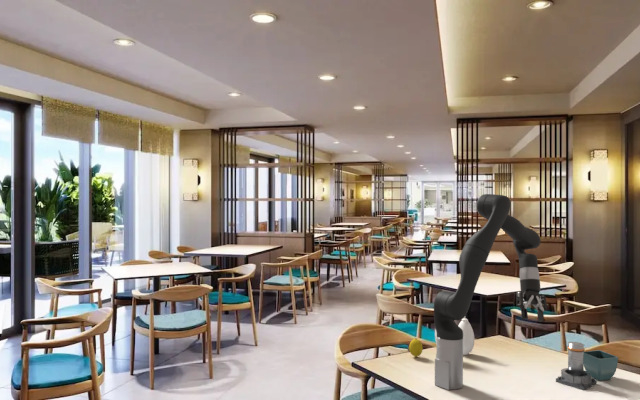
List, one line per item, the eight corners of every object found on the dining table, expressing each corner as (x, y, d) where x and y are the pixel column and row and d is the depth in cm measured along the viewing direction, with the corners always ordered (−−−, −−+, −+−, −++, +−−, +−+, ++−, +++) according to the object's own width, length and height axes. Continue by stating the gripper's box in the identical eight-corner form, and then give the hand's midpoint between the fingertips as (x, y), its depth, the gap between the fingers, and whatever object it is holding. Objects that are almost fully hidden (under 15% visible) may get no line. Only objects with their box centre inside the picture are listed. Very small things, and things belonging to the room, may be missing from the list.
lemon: (413, 354, 209) (413, 335, 209) (424, 357, 206) (424, 338, 206) (406, 357, 205) (406, 338, 205) (418, 360, 201) (418, 341, 201)
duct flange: (584, 390, 170) (584, 379, 170) (555, 381, 178) (555, 371, 178) (596, 383, 177) (596, 373, 177) (568, 375, 185) (568, 366, 185)
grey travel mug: (580, 383, 174) (580, 346, 174) (564, 378, 178) (564, 343, 178) (587, 379, 177) (587, 344, 178) (571, 375, 182) (571, 340, 182)
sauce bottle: (477, 354, 209) (477, 313, 209) (467, 358, 204) (467, 315, 204) (461, 350, 215) (462, 309, 215) (451, 354, 210) (451, 312, 210)
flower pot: (599, 383, 177) (599, 358, 177) (580, 375, 186) (580, 351, 186) (618, 381, 180) (619, 357, 180) (599, 373, 188) (599, 349, 188)
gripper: (523, 275, 193) (527, 317, 188) (549, 280, 199) (553, 321, 193) (509, 278, 200) (512, 318, 194) (535, 283, 205) (538, 322, 200)
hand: (533, 320), depth 194 cm, fingers open, 8 cm apart
